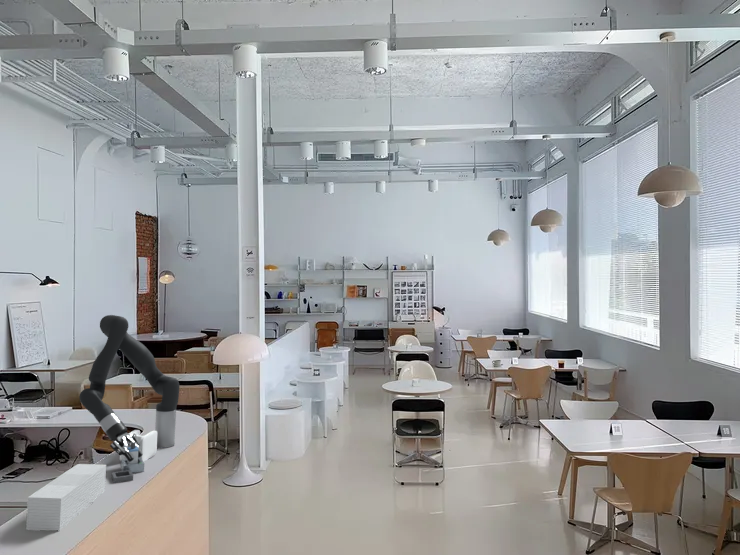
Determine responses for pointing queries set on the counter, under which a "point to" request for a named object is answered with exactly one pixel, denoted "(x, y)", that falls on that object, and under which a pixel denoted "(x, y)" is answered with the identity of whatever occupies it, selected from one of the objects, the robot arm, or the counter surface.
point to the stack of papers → (65, 497)
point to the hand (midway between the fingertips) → (136, 458)
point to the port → (133, 466)
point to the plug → (133, 453)
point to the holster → (122, 476)
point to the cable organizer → (145, 444)
